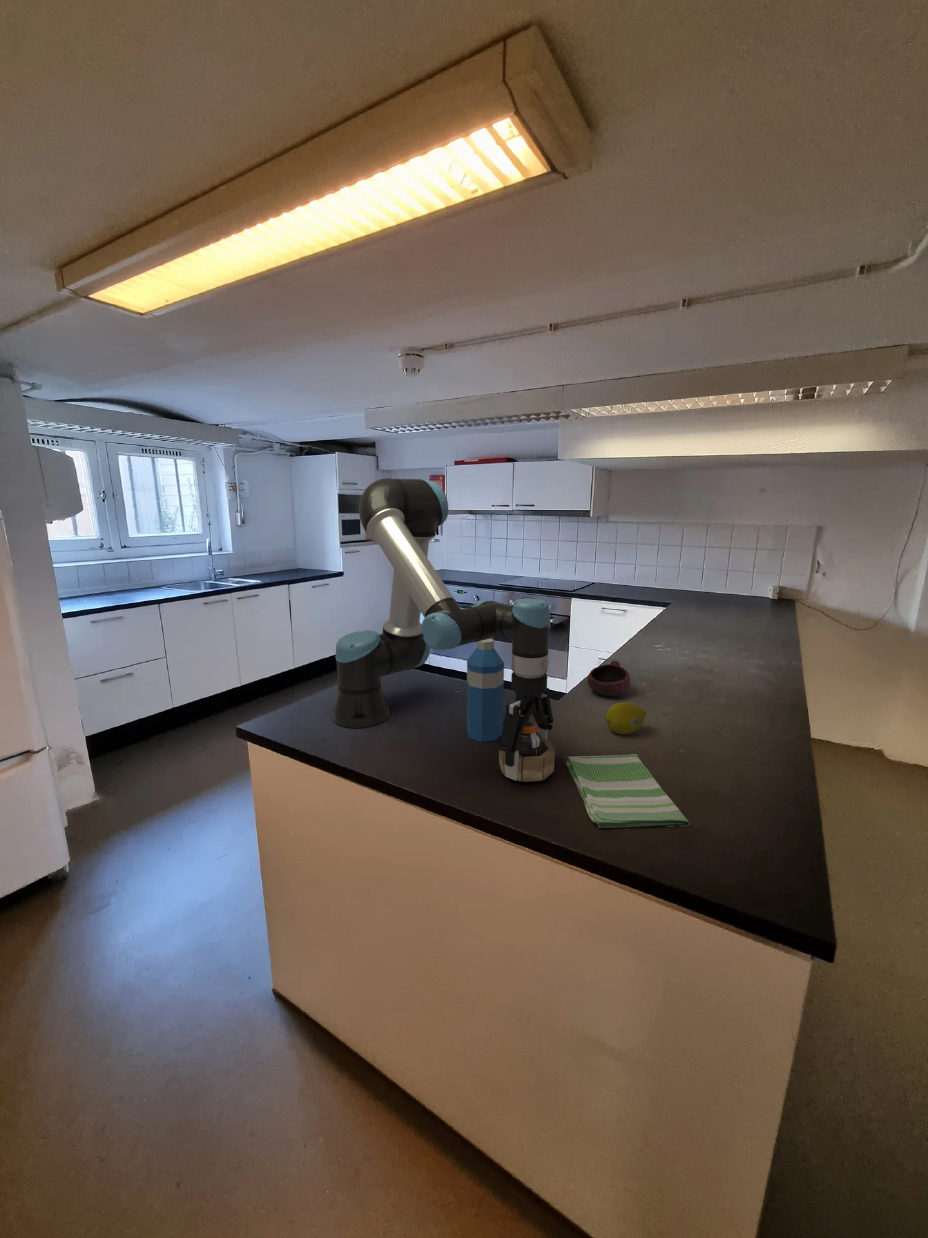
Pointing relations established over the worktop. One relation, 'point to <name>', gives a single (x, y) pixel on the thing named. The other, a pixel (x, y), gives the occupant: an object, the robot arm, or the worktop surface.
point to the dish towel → (622, 792)
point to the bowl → (609, 679)
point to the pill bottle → (530, 741)
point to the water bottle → (485, 692)
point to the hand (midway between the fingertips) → (526, 766)
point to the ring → (533, 763)
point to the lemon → (625, 717)
